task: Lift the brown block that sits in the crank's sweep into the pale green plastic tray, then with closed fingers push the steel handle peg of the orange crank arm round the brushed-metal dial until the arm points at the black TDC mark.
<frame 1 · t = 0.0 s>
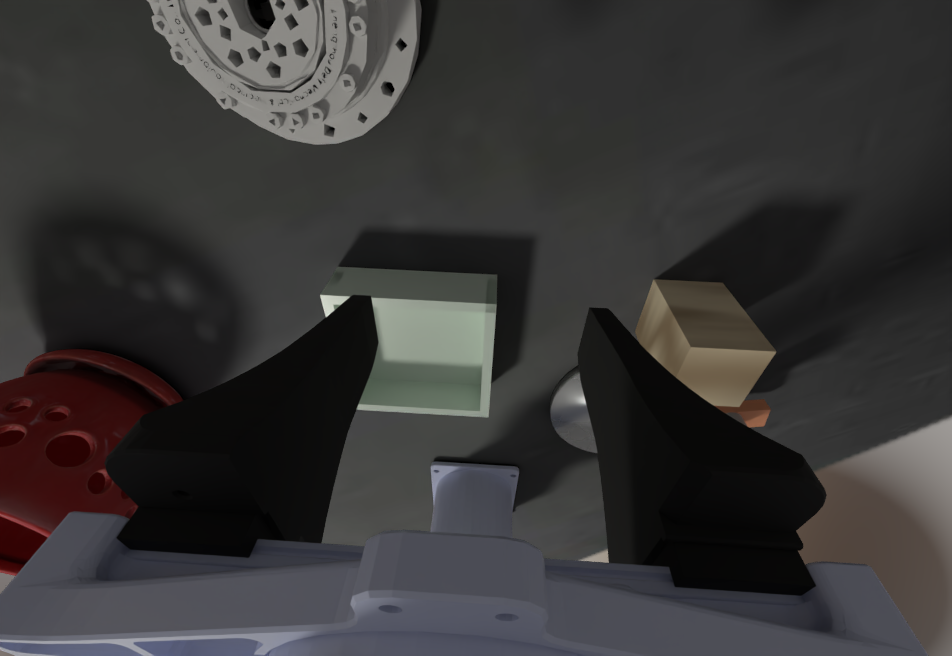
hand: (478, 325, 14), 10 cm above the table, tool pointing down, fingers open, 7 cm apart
plant pot: (123, 388, 33), on the table
crank: (692, 444, 27), point 4 cm above the table, hinge at -78.0°
mechanical component: (304, 7, 17), on the table
dial plate: (622, 403, 31), on the table
tray: (421, 332, 27), on the table
brown block: (676, 308, 25), on the table
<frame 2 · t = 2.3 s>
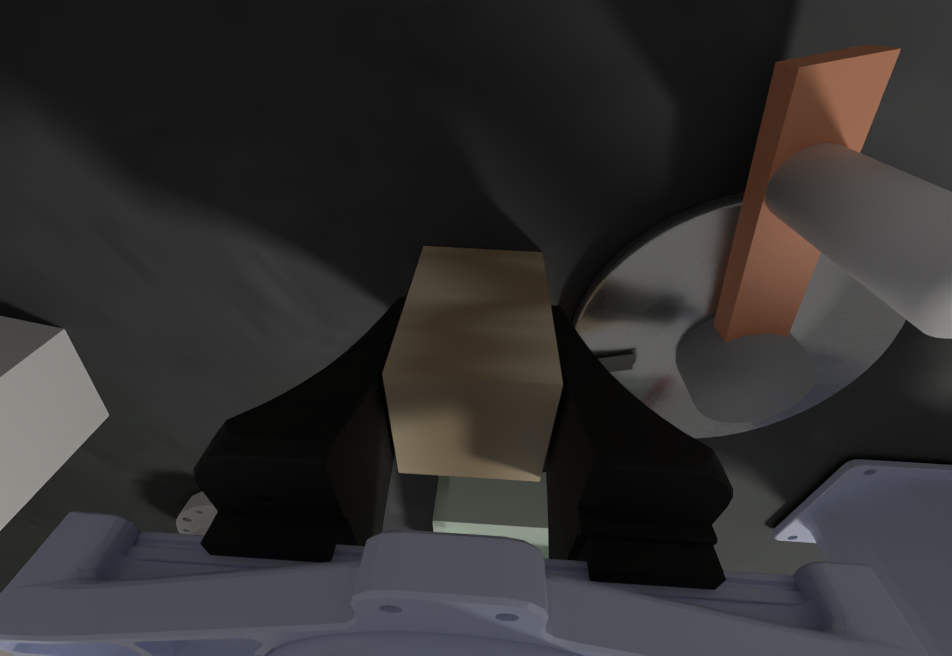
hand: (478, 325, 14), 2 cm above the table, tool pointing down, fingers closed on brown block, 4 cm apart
crank: (809, 322, 10), point 4 cm above the table, hinge at -78.0°
mechanical component: (266, 518, 28), on the table
light grey cube: (24, 358, 19), on the table
dial plate: (717, 332, 15), on the table
tray: (519, 513, 25), on the table
brown block: (480, 297, 15), on the table, touching gripper
when the fingers open (4 cm above the table, at t = 5.7 s): brown block stays where it is, resting on tray.
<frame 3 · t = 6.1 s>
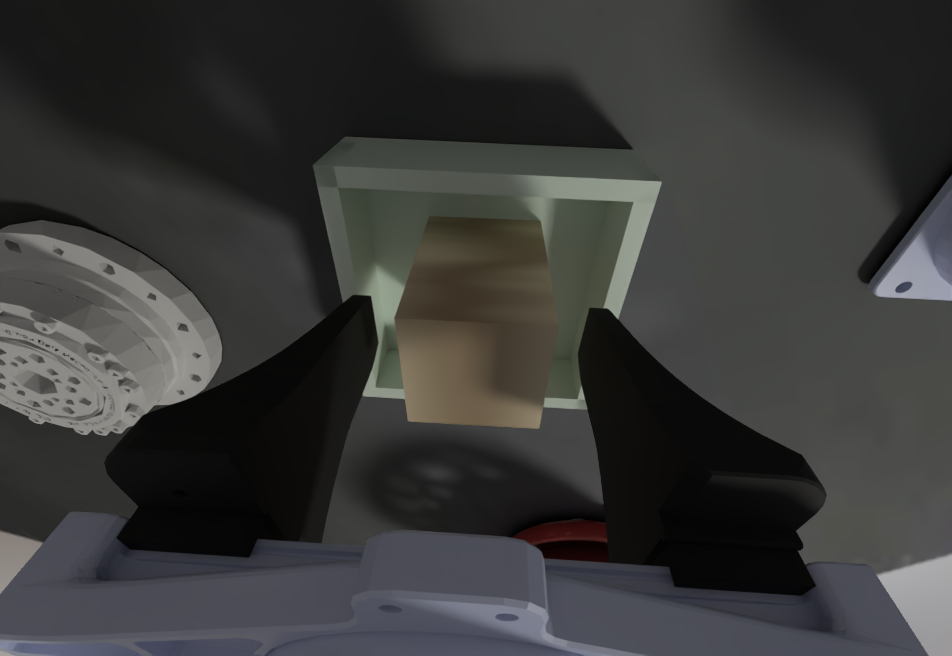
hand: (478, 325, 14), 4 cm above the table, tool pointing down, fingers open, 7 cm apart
plant pot: (570, 543, 32), on the table
mechanical component: (120, 312, 20), on the table
tray: (482, 268, 16), on the table
brown block: (482, 267, 16), point 1 cm above the table, touching tray
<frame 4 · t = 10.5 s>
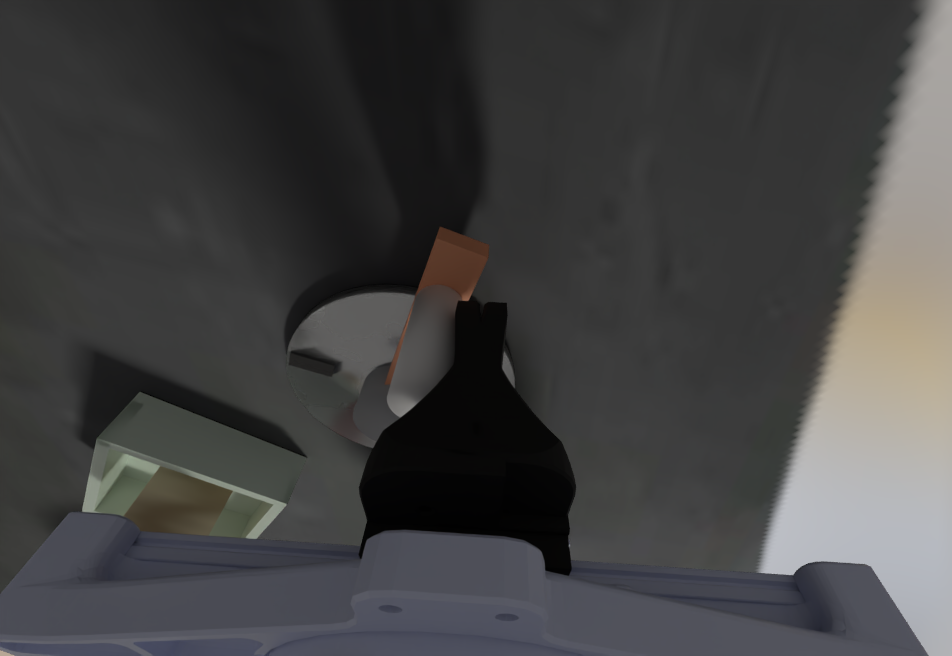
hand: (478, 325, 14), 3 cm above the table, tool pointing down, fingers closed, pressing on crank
crank: (410, 390, 15), point 4 cm above the table, hinge at -74.9°, touching gripper
dial plate: (404, 377, 20), on the table
tray: (209, 462, 26), on the table
brown block: (205, 468, 25), point 1 cm above the table, touching tray
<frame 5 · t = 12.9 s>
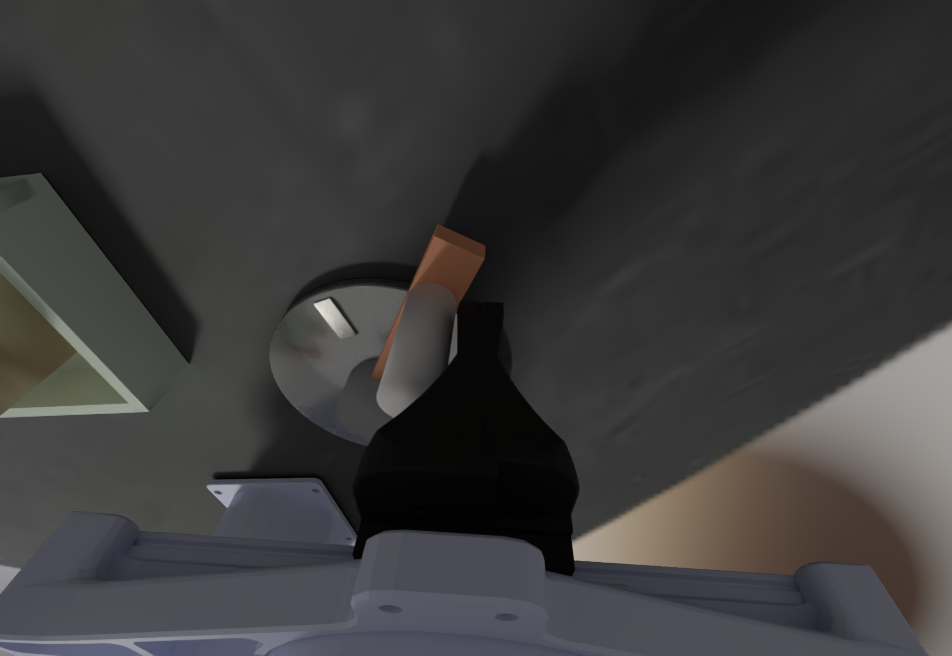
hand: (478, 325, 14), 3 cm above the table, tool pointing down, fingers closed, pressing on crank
crank: (397, 386, 15), point 4 cm above the table, hinge at -31.9°, touching gripper
dial plate: (390, 372, 20), on the table
tray: (31, 292, 18), on the table
brown block: (27, 300, 17), point 1 cm above the table, touching tray
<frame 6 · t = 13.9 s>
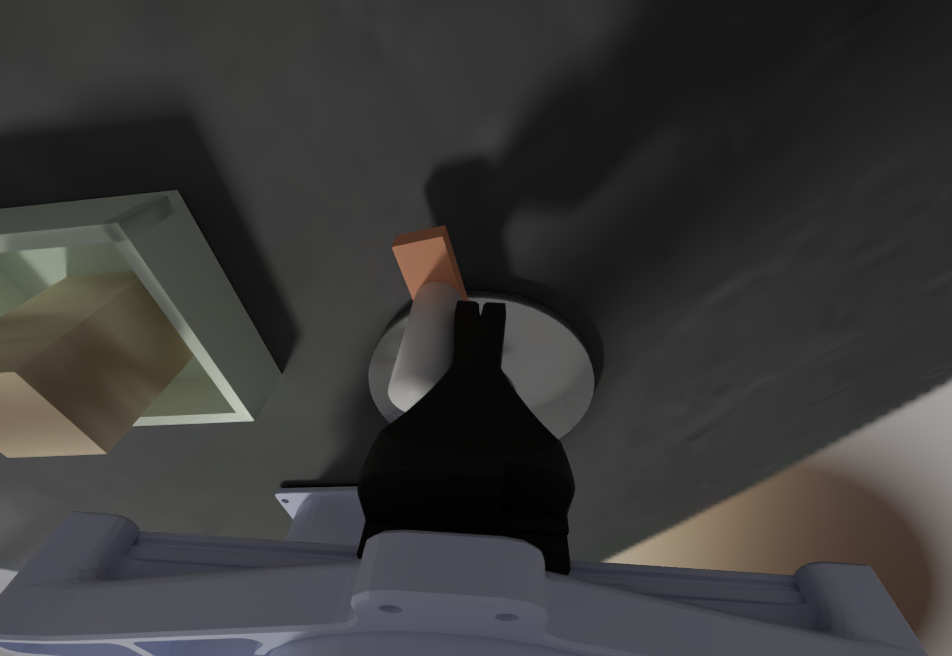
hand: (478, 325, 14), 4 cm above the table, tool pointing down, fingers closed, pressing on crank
crank: (455, 389, 15), point 4 cm above the table, hinge at 7.3°, touching gripper
dial plate: (480, 381, 21), on the table
tray: (140, 304, 18), on the table
brown block: (139, 312, 18), point 1 cm above the table, touching tray
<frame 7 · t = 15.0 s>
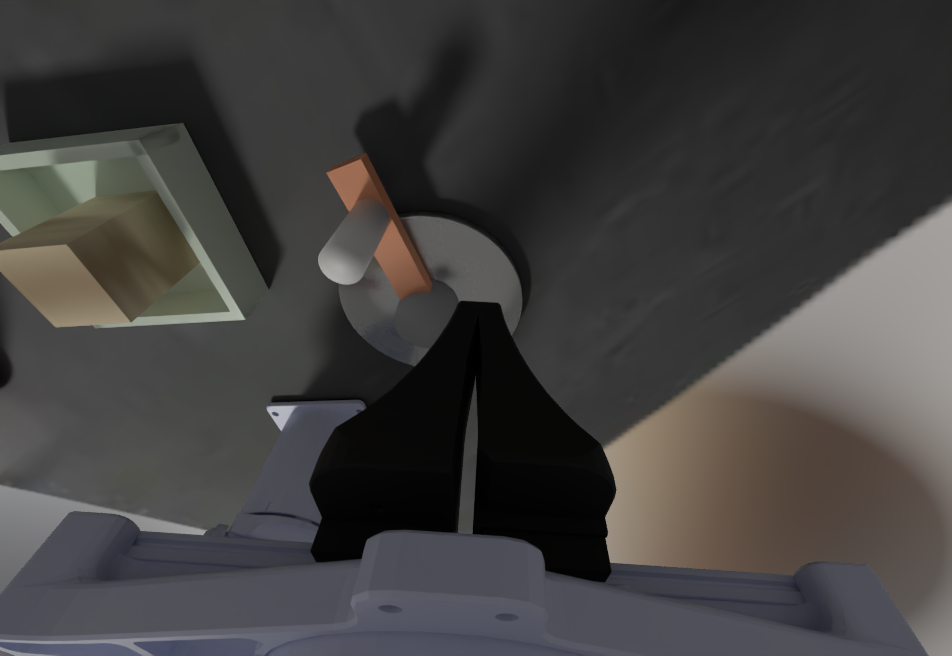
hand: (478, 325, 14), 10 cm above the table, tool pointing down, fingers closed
crank: (391, 284, 20), point 4 cm above the table, hinge at 13.9°
dial plate: (432, 296, 25), on the table
tray: (153, 224, 23), on the table
brown block: (152, 228, 22), point 1 cm above the table, touching tray
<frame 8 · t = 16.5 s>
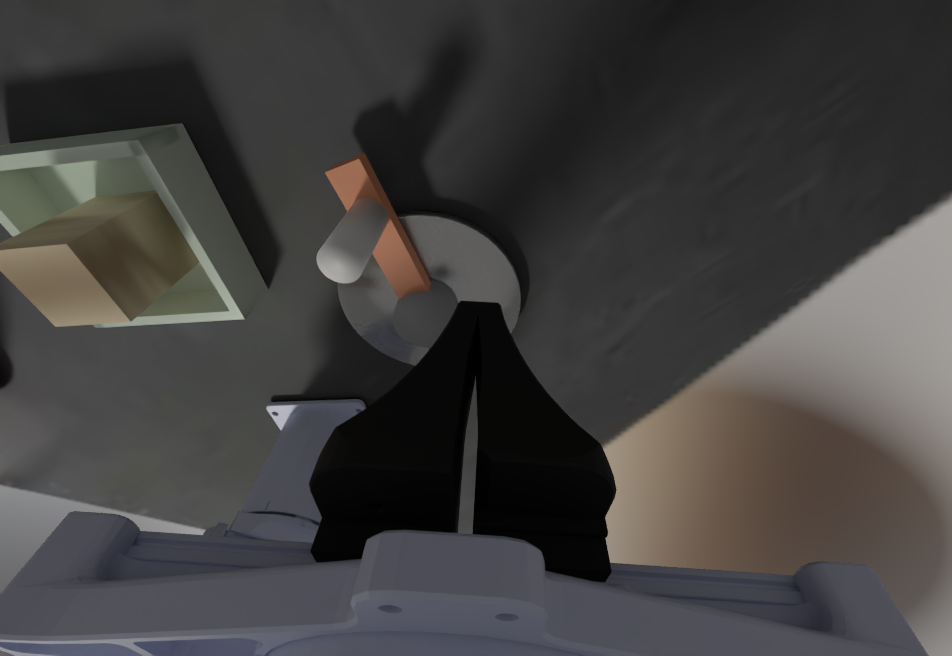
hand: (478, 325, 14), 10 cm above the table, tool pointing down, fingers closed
crank: (390, 283, 20), point 4 cm above the table, hinge at 14.0°
dial plate: (431, 295, 25), on the table
tray: (152, 224, 23), on the table
brown block: (152, 228, 22), point 1 cm above the table, touching tray
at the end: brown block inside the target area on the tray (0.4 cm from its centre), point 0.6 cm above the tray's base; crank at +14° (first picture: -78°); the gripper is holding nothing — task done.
